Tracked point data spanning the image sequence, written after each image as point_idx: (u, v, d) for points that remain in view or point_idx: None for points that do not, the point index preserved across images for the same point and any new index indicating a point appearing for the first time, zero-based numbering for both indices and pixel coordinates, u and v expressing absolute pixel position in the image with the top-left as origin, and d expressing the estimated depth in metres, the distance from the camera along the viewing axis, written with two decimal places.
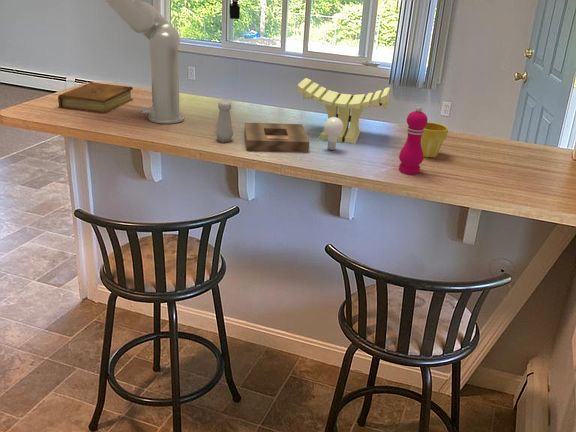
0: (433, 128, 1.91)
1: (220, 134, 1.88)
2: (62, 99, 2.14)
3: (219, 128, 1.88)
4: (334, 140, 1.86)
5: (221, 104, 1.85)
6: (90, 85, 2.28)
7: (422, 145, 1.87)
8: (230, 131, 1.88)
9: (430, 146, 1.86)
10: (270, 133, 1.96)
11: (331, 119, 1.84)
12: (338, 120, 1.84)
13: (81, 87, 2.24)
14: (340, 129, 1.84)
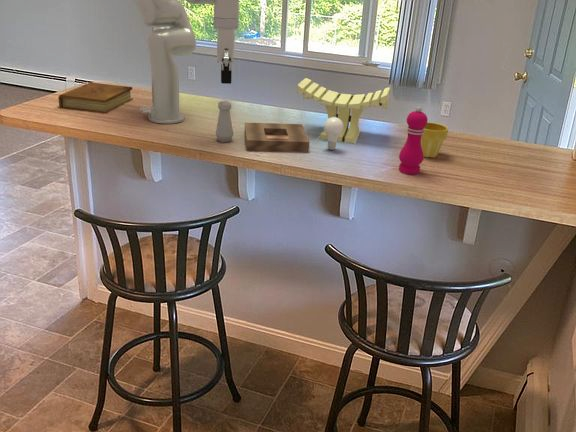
0: (433, 128, 1.91)
1: (220, 134, 1.88)
2: (62, 99, 2.14)
3: (219, 128, 1.88)
4: (334, 140, 1.86)
5: (221, 104, 1.85)
6: (90, 85, 2.28)
7: (422, 145, 1.87)
8: (230, 131, 1.88)
9: (430, 146, 1.86)
10: (270, 133, 1.96)
11: (331, 119, 1.84)
12: (338, 120, 1.84)
13: (81, 87, 2.24)
14: (340, 129, 1.84)
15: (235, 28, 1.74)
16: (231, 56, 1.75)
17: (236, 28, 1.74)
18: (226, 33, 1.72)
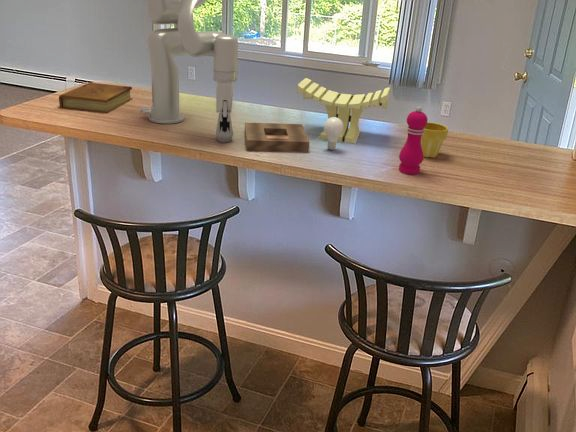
0: (433, 128, 1.91)
1: (220, 134, 1.88)
2: (63, 99, 2.14)
3: (219, 128, 1.88)
4: (334, 140, 1.86)
5: None
6: (89, 85, 2.28)
7: (422, 145, 1.87)
8: (230, 131, 1.88)
9: (430, 146, 1.86)
10: (270, 133, 1.96)
11: (331, 119, 1.84)
12: (338, 120, 1.84)
13: (80, 87, 2.24)
14: (340, 129, 1.84)
15: (234, 80, 1.81)
16: (229, 107, 1.82)
17: (235, 80, 1.81)
18: (225, 86, 1.79)
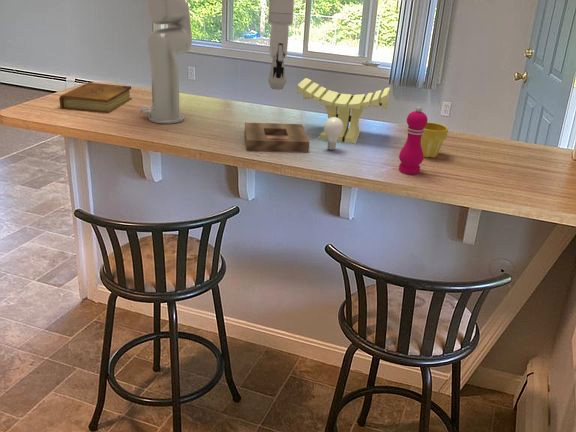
0: (433, 128, 1.91)
1: (273, 80, 1.82)
2: (63, 100, 2.13)
3: None
4: (334, 140, 1.86)
5: None
6: (88, 85, 2.28)
7: (422, 145, 1.87)
8: (284, 78, 1.83)
9: (430, 146, 1.86)
10: (270, 133, 1.96)
11: (331, 119, 1.84)
12: (338, 120, 1.84)
13: (80, 87, 2.24)
14: (340, 129, 1.84)
15: (290, 23, 1.75)
16: (285, 51, 1.76)
17: (291, 23, 1.75)
18: (282, 28, 1.73)
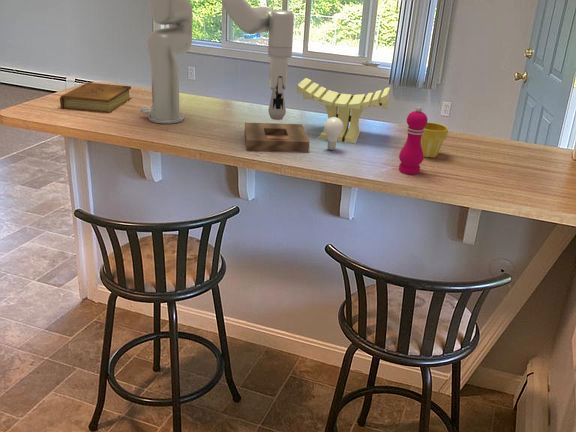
0: (433, 128, 1.91)
1: (273, 111, 1.86)
2: (64, 100, 2.13)
3: (272, 105, 1.86)
4: (334, 140, 1.86)
5: None
6: (88, 85, 2.28)
7: (422, 145, 1.87)
8: (283, 108, 1.87)
9: (430, 146, 1.86)
10: (270, 133, 1.96)
11: (331, 119, 1.84)
12: (338, 120, 1.84)
13: (80, 87, 2.24)
14: (340, 129, 1.84)
15: (289, 56, 1.79)
16: (284, 83, 1.80)
17: (290, 56, 1.80)
18: (281, 62, 1.78)
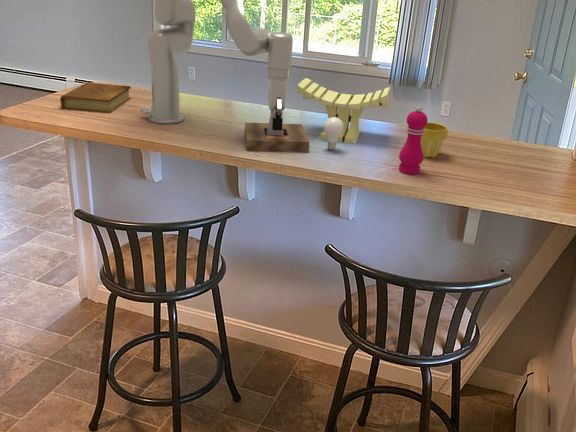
0: (433, 128, 1.91)
1: None
2: (64, 100, 2.13)
3: (270, 129, 1.90)
4: (334, 140, 1.86)
5: None
6: (87, 85, 2.28)
7: (422, 145, 1.87)
8: (281, 132, 1.90)
9: (430, 146, 1.86)
10: None
11: (331, 119, 1.84)
12: (338, 120, 1.84)
13: (79, 87, 2.24)
14: (340, 129, 1.84)
15: (288, 77, 1.82)
16: (283, 104, 1.83)
17: (288, 78, 1.83)
18: (280, 83, 1.81)
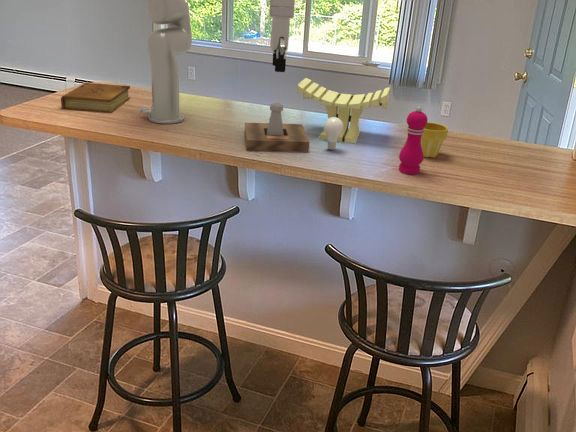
0: (433, 128, 1.91)
1: None
2: (65, 100, 2.13)
3: (270, 129, 1.90)
4: (334, 140, 1.86)
5: (273, 106, 1.87)
6: (87, 85, 2.27)
7: (422, 145, 1.87)
8: (281, 132, 1.90)
9: (430, 146, 1.86)
10: None
11: (331, 119, 1.84)
12: (338, 120, 1.84)
13: (79, 88, 2.23)
14: (340, 129, 1.84)
15: (291, 16, 1.74)
16: (286, 44, 1.75)
17: (292, 16, 1.75)
18: (283, 21, 1.73)
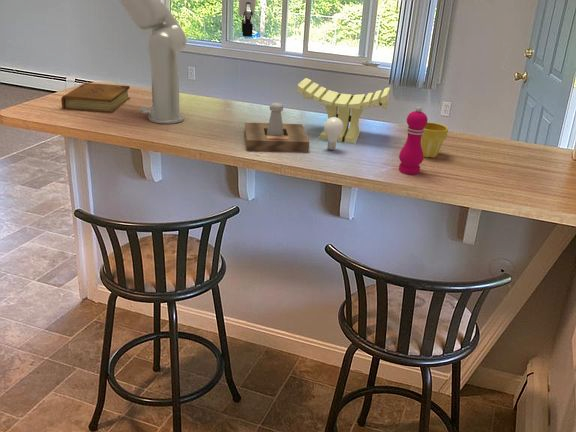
0: (433, 128, 1.91)
1: None
2: (65, 100, 2.13)
3: (270, 129, 1.90)
4: (334, 140, 1.86)
5: (273, 106, 1.87)
6: (86, 85, 2.27)
7: (422, 145, 1.87)
8: (281, 132, 1.90)
9: (430, 146, 1.86)
10: None
11: (331, 119, 1.84)
12: (338, 120, 1.84)
13: (79, 88, 2.23)
14: (340, 129, 1.84)
15: None
16: (253, 10, 1.84)
17: None
18: None
